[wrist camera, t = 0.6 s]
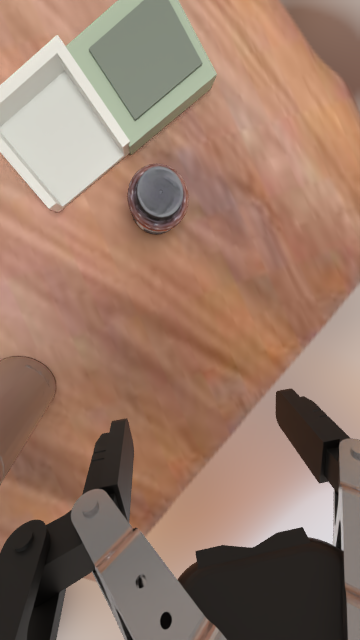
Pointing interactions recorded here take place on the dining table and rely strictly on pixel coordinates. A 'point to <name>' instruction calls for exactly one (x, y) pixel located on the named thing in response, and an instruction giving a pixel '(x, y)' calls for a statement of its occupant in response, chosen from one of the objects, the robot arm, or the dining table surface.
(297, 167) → the dining table surface
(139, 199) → the supplement bottle
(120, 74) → the green rectangular block
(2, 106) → the chute bracket
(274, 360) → the dining table surface
